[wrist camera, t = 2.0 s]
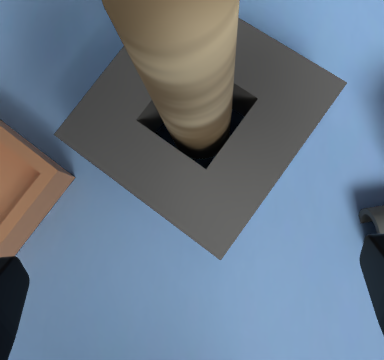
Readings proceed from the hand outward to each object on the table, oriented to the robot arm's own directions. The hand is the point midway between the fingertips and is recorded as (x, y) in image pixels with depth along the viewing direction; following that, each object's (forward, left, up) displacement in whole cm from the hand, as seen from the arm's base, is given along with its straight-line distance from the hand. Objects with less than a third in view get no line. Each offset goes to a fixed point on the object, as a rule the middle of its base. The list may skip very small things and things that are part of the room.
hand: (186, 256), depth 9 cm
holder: (+5, -6, -13) cm, 15 cm away
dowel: (+5, -6, -13) cm, 15 cm away
